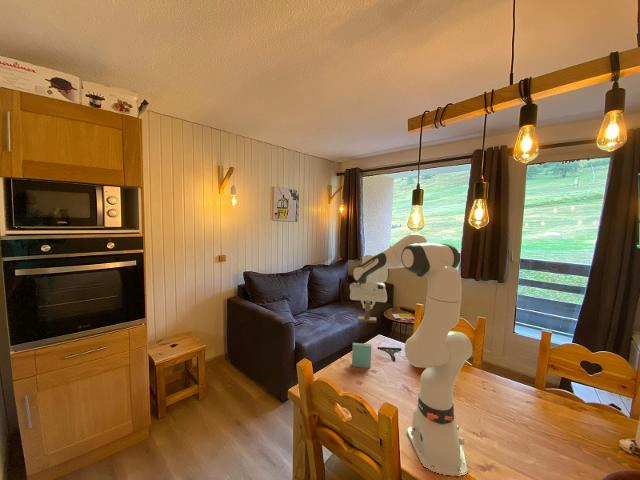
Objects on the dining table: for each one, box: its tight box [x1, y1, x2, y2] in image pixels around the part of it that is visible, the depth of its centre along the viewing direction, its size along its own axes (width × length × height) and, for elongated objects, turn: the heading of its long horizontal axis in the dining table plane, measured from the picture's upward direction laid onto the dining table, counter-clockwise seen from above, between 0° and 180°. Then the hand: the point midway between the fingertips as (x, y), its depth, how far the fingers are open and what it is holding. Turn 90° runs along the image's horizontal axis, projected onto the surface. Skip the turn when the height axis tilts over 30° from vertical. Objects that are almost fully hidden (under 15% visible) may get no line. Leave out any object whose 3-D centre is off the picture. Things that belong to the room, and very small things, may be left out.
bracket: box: [377, 346, 403, 362], centre depth 157 cm, size 14×15×3 cm
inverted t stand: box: [357, 301, 377, 324], centre depth 146 cm, size 4×10×10 cm, turn 82°
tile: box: [351, 342, 372, 369], centre depth 144 cm, size 2×10×12 cm, turn 82°
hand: (367, 308), depth 145 cm, fingers closed on inverted t stand, 2 cm apart
